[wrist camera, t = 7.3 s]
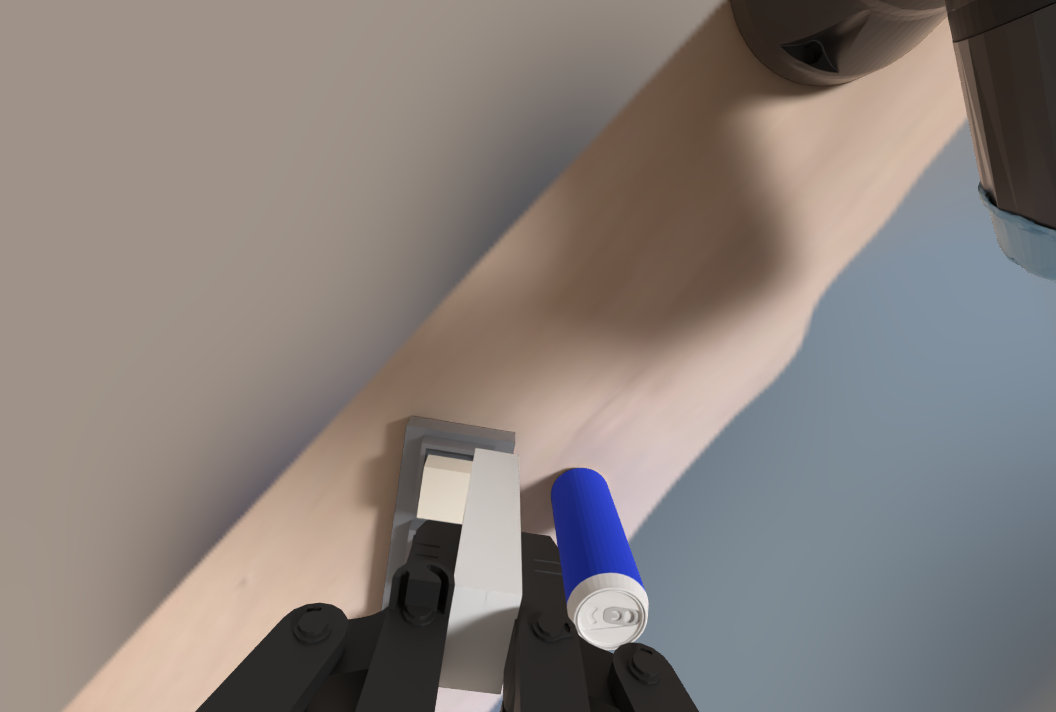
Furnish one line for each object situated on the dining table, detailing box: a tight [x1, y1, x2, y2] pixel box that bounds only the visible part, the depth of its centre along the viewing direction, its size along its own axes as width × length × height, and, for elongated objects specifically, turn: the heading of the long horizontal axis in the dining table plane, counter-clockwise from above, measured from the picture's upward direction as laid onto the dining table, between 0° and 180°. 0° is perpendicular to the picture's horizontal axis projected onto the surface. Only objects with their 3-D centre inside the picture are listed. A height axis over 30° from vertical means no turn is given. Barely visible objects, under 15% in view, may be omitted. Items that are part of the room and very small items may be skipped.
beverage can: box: [551, 468, 648, 650], centre depth 37 cm, size 5×5×15 cm
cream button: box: [417, 455, 473, 524], centre depth 39 cm, size 4×4×2 cm
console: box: [381, 416, 515, 611], centre depth 43 cm, size 26×9×7 cm, turn 170°
